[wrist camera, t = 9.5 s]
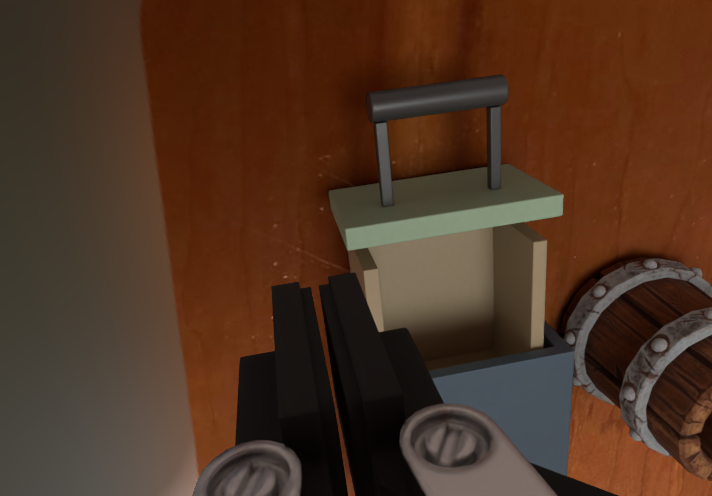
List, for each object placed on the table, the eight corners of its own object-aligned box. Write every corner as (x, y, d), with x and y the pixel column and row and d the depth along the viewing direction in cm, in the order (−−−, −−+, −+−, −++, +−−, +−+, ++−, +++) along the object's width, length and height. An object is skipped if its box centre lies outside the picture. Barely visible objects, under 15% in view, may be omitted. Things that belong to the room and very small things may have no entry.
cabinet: (334, 315, 37) (355, 393, 29) (510, 284, 39) (575, 350, 31) (357, 476, 43) (379, 577, 35) (509, 444, 44) (563, 534, 37)
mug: (542, 267, 38) (750, 389, 25) (700, 221, 42) (953, 305, 29) (540, 401, 43) (714, 564, 30) (682, 349, 47) (894, 472, 33)
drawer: (314, 88, 31) (329, 105, 24) (508, 63, 32) (569, 73, 26) (352, 374, 38) (370, 443, 32) (507, 345, 40) (554, 405, 33)
